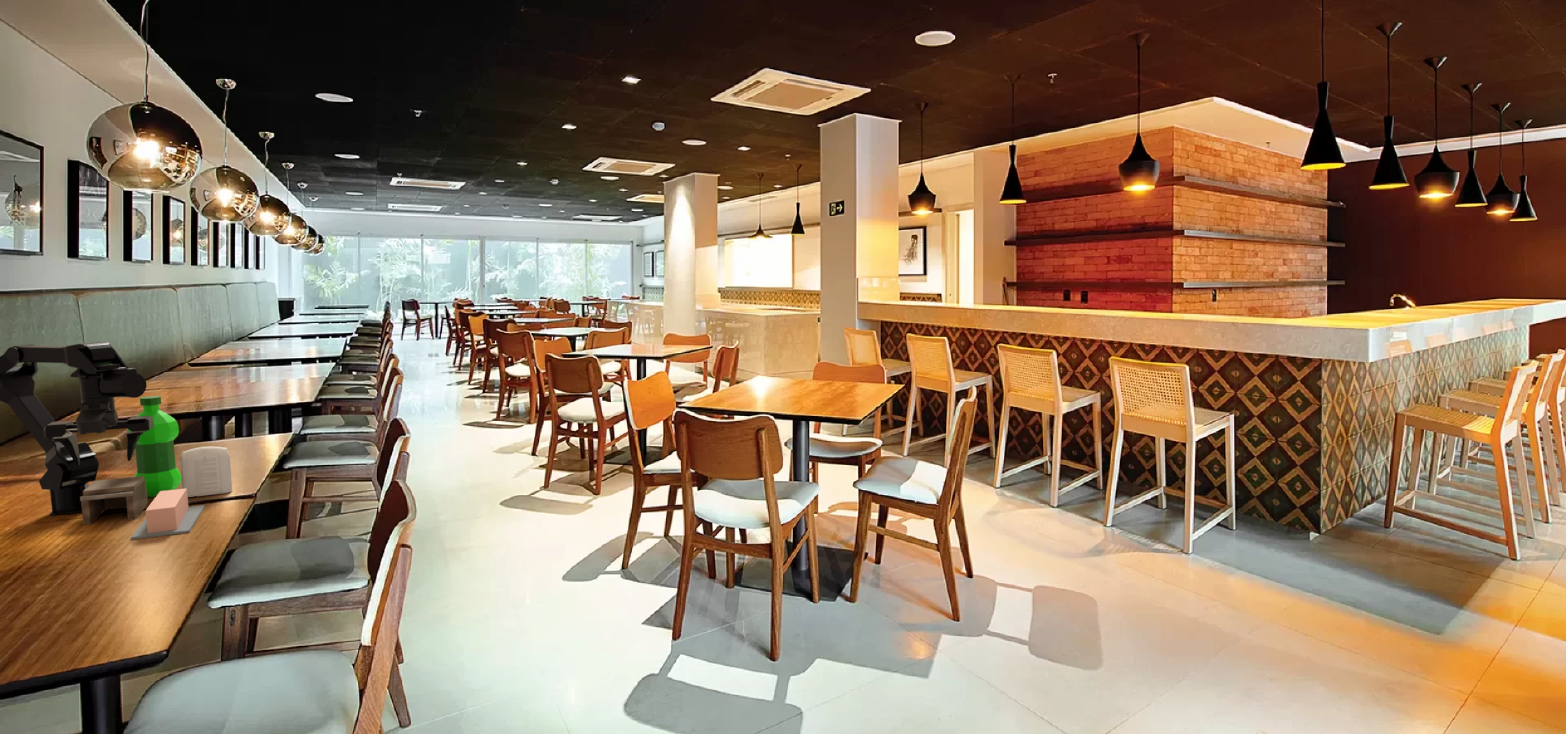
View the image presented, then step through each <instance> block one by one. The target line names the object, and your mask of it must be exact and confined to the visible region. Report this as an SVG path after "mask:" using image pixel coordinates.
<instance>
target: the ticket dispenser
mask: <svg viewBox="0 0 1566 734" xmlns="http://www.w3.org/2000/svg"><path fill="white" fill-rule="evenodd" d="M80 501H81V506H82V512H81V513H82V524H83V526H86V525H87V526H88V525H91V524H92V523H93V522H95V520H97V519H98V518H99V517H100V516H101V514H103V513H104V512H105V511H108V510H107V509H110V510H119V509H125V508H126V507H127V508H126V511H127V520H128V521H131V519H132V520H136V519H137V518H138V516H139V515H140V514H141V513H142V512H143V510H144V509H145V508H146V507H147V506H149V505H148V504H149V503H148V497H147V490H146V479H144V476H140V477H134V476H132V477H131V476H129V477H121V478H111V479H109V478H108V479H101V480H95V481H92V482H91V484H90V485H89V486H88V487H87V488H86V489H85V490H84V491H83V496H82V497H80ZM146 505H147V506H146ZM104 510H105V511H104ZM103 511H104V512H103Z"/></svg>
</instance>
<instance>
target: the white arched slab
mask: <svg viewBox="0 0 1566 734" xmlns="http://www.w3.org/2000/svg"><path fill="white" fill-rule="evenodd" d="M228 450H229V449H228V447H225V446H224V447H223V446H215V445H214V446H212V445H211V446H208V445H207V446H199V447H194V448H190V449H188V450H184V451H182V452H181V456H180V460H179V462H180V474H181V489H186V488H187V496H188V498H192V497H193V498H195V496H196V497H204V496H212V495H213V496H214V495H220V494H221V495H223V494H230V493H232V492H233V482H232V481H233V480H232V466H231V464H232V463H231V455H230V452H229V451H228ZM229 492H230V493H229Z"/></svg>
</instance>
